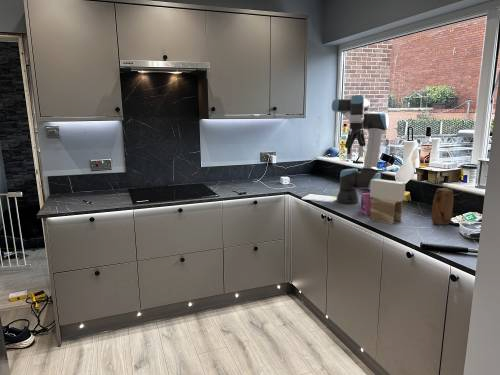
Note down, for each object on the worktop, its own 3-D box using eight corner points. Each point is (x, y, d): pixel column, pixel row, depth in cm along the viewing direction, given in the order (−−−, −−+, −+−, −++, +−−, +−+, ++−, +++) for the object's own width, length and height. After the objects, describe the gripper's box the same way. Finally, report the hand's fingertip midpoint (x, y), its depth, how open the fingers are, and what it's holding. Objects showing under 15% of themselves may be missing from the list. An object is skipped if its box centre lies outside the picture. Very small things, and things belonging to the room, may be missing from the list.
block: (440, 220, 219) (443, 187, 215) (452, 223, 212) (456, 189, 208) (428, 223, 214) (431, 188, 209) (440, 226, 207) (444, 191, 203)
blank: (374, 194, 226) (375, 178, 224) (404, 199, 214) (405, 182, 212) (369, 196, 222) (370, 180, 220) (399, 201, 210) (400, 184, 208)
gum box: (364, 215, 230) (365, 193, 228) (357, 212, 238) (359, 191, 235) (398, 212, 236) (400, 191, 233) (390, 209, 244) (392, 189, 241)
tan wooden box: (379, 215, 229) (380, 194, 226) (401, 220, 219) (402, 198, 216) (370, 219, 222) (371, 197, 219) (392, 224, 212) (394, 201, 209)
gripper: (351, 123, 208) (349, 160, 213) (372, 121, 226) (370, 156, 230) (339, 122, 214) (338, 159, 218) (361, 121, 231) (359, 155, 236)
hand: (354, 158), depth 224 cm, fingers open, 13 cm apart
